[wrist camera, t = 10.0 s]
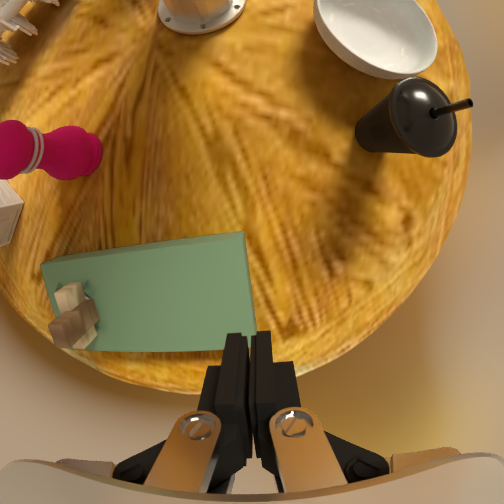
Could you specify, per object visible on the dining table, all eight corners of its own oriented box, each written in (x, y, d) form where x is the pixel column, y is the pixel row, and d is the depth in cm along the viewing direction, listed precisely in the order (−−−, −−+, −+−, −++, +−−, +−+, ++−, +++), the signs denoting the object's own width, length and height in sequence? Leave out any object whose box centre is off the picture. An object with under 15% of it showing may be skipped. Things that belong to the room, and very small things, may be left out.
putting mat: (56, 256, 37) (39, 264, 33) (244, 231, 36) (242, 237, 32) (80, 335, 41) (67, 348, 36) (257, 329, 39) (256, 346, 35)
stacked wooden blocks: (70, 282, 33) (35, 305, 25) (88, 281, 33) (54, 305, 25) (86, 334, 35) (58, 364, 27) (105, 335, 35) (77, 366, 27)
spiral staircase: (102, -17, 29) (20, 82, 32) (52, -41, 19) (-25, 53, 23) (92, -60, 14) (-25, 75, 17) (31, -78, 4) (-70, 43, 8)
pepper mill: (114, 139, 33) (8, 119, 14) (93, 187, 35) (-15, 202, 16) (79, 123, 33) (-24, 103, 13) (60, 168, 34) (-44, 174, 15)
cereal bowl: (426, 94, 31) (452, 82, 24) (319, 88, 31) (332, 69, 25) (397, 3, 27) (415, -17, 20) (296, -7, 27) (302, -35, 21)
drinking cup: (387, 172, 34) (492, 174, 14) (336, 147, 33) (419, 117, 14) (403, 123, 32) (505, 94, 13) (355, 97, 31) (436, 35, 12)
